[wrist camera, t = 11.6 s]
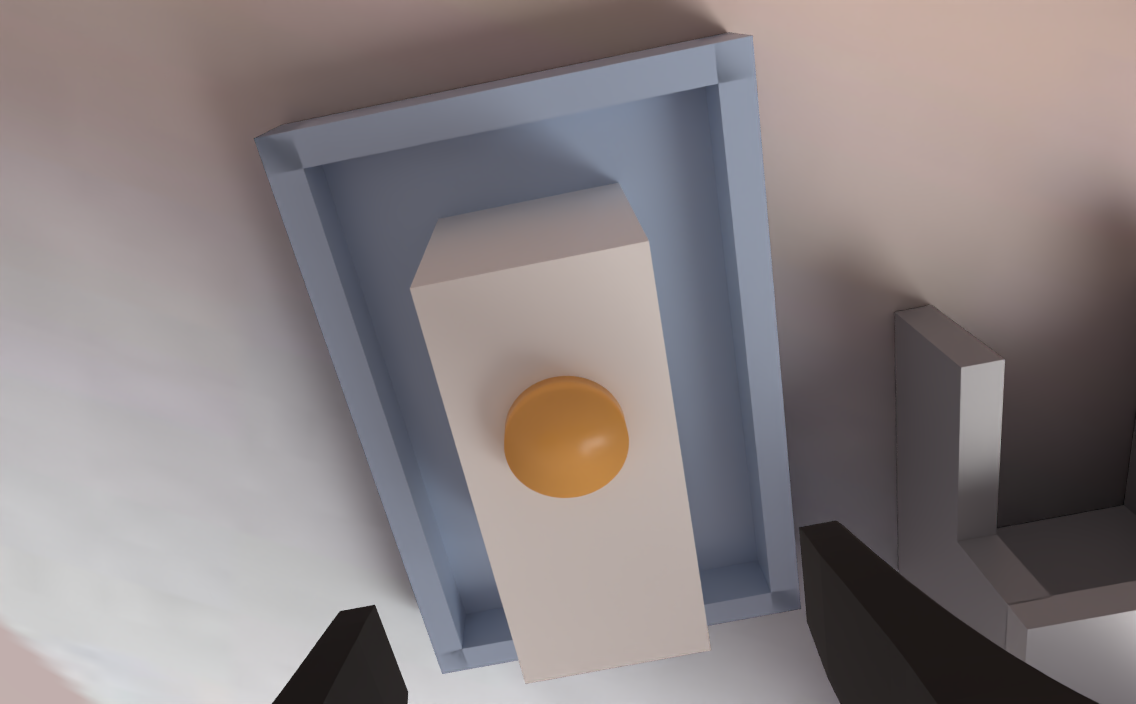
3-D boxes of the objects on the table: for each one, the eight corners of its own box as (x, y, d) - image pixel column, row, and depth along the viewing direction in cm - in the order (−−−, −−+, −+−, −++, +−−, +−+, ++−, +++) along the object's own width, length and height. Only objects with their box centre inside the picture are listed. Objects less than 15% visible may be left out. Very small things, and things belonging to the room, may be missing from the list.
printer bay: (1152, 525, 24) (1356, 694, 18) (898, 571, 25) (1018, 753, 19) (1194, 254, 21) (1466, 356, 15) (894, 311, 21) (1042, 435, 15)
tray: (780, 563, 24) (800, 608, 22) (448, 624, 25) (442, 673, 23) (729, 32, 18) (752, 35, 16) (281, 124, 18) (253, 138, 16)
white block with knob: (673, 519, 23) (716, 670, 17) (525, 547, 23) (525, 705, 18) (618, 182, 18) (653, 250, 13) (438, 218, 19) (405, 299, 13)
